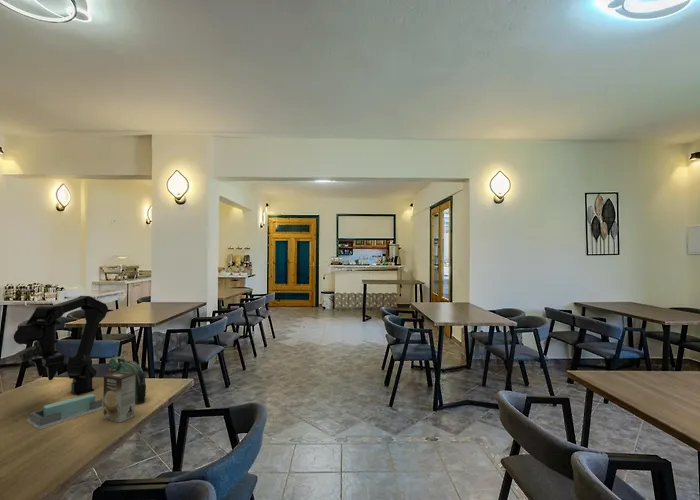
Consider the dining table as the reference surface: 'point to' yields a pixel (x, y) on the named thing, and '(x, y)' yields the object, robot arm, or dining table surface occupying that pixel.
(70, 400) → the rail
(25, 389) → the dining table surface
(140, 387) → the ceramic cat
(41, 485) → the dining table surface
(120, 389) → the coffee box
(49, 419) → the cup bracket
